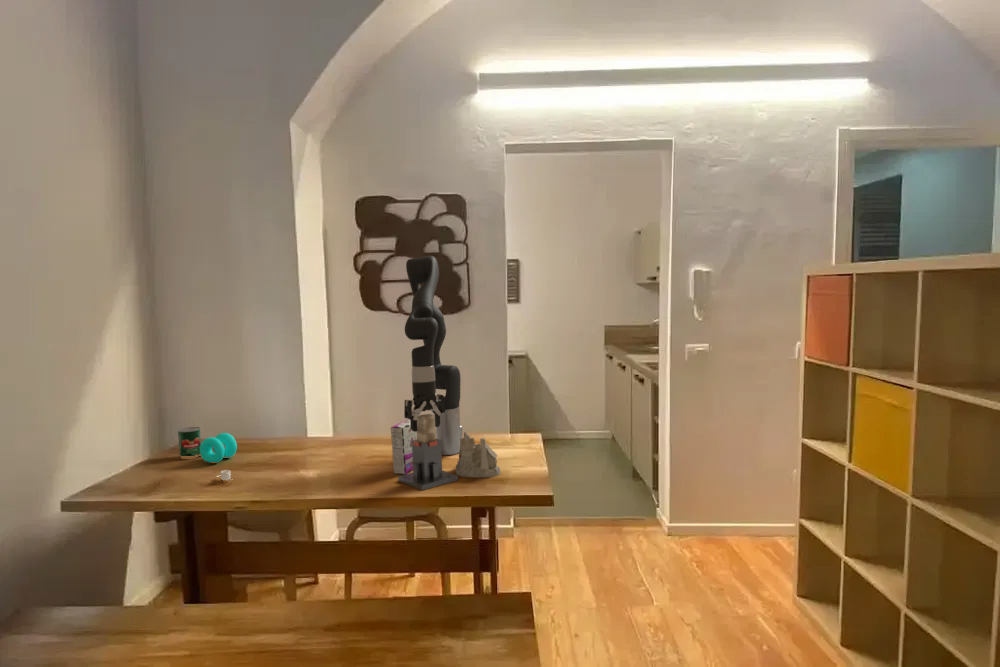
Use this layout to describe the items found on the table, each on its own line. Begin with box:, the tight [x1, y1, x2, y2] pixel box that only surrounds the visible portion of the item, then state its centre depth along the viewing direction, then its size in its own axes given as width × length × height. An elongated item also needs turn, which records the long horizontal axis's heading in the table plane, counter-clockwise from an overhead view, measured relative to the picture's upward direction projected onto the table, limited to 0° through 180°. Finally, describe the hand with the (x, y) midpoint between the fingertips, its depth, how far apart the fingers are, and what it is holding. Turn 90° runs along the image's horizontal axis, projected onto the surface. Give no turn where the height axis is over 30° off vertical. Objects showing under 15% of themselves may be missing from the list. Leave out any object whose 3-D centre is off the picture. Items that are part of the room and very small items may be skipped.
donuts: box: [200, 432, 238, 463], centre depth 247 cm, size 10×10×10 cm
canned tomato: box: [177, 426, 202, 456], centre depth 254 cm, size 8×8×11 cm
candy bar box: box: [390, 419, 417, 475], centre depth 227 cm, size 11×5×16 cm, turn 160°
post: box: [416, 413, 436, 443], centre depth 213 cm, size 5×5×20 cm
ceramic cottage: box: [455, 431, 501, 478], centre depth 223 cm, size 16×16×15 cm
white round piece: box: [215, 469, 232, 481], centre depth 220 cm, size 9×8×4 cm
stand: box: [397, 439, 459, 491], centre depth 213 cm, size 14×14×14 cm
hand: (425, 428), depth 213 cm, fingers open, 8 cm apart
